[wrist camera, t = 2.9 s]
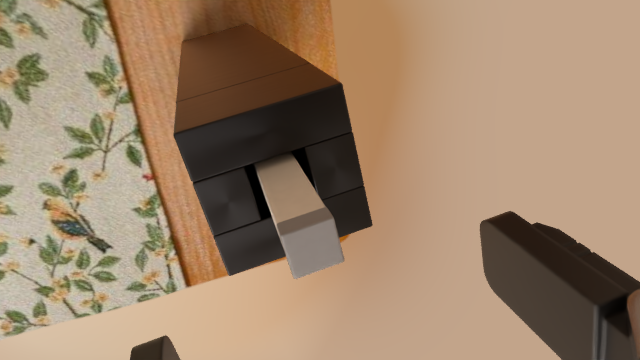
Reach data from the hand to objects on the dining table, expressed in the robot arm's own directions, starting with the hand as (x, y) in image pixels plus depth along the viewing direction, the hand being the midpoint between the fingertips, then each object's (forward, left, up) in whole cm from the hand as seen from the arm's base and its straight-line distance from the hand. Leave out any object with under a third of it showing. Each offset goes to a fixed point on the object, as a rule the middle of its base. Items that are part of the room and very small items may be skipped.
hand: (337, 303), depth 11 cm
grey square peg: (0, 0, -13) cm, 13 cm away
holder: (0, 0, -38) cm, 38 cm away
